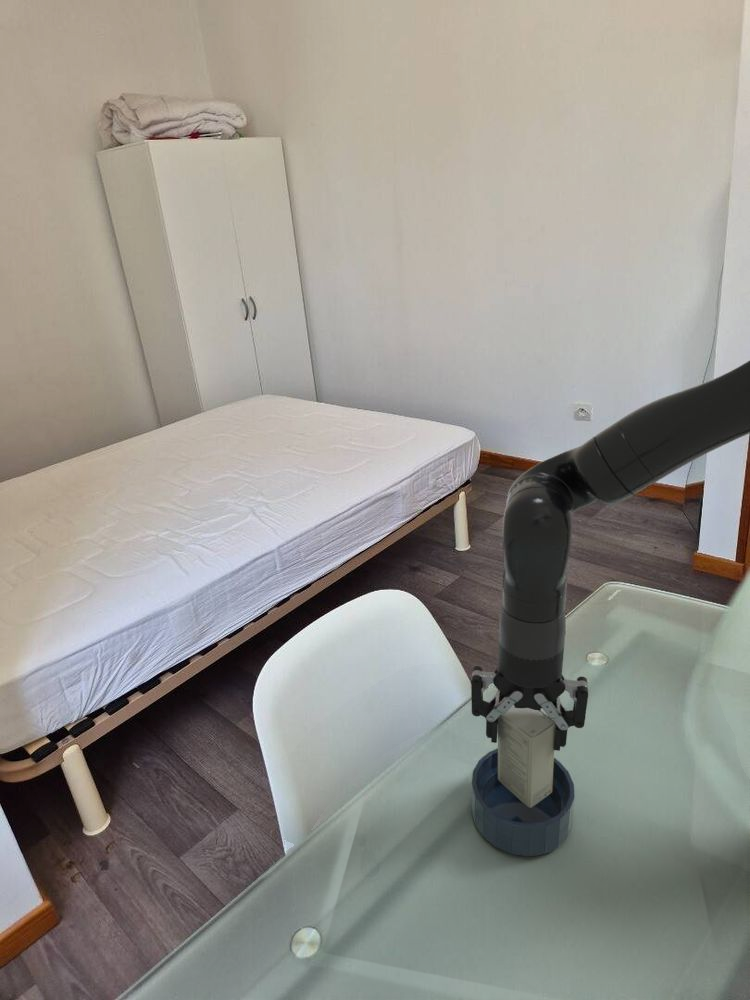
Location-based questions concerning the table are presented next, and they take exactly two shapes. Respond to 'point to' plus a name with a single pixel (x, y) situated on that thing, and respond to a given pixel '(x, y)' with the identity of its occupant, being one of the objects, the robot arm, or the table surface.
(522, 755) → the cosmetic box
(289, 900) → the table surface
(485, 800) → the bowl
